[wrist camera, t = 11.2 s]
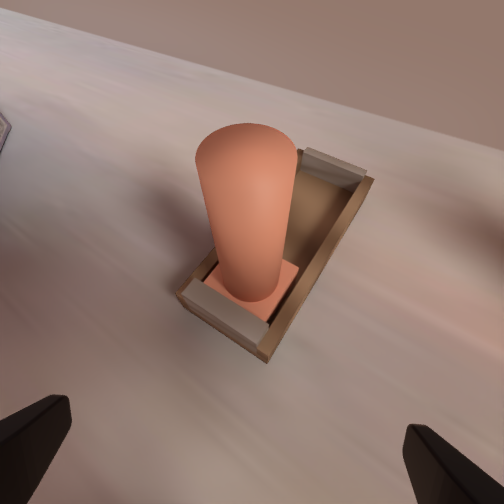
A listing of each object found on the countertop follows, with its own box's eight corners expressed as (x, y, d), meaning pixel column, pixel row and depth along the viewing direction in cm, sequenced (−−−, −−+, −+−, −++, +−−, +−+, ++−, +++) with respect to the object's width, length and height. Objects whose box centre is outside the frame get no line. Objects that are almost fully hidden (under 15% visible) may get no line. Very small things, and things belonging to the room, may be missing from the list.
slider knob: (262, 331, 18) (269, 225, 8) (206, 295, 19) (155, 167, 10) (295, 279, 20) (332, 143, 10) (242, 249, 21) (229, 103, 12)
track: (267, 364, 18) (269, 352, 15) (183, 307, 20) (171, 287, 17) (364, 199, 25) (379, 169, 22) (295, 169, 27) (300, 138, 24)
